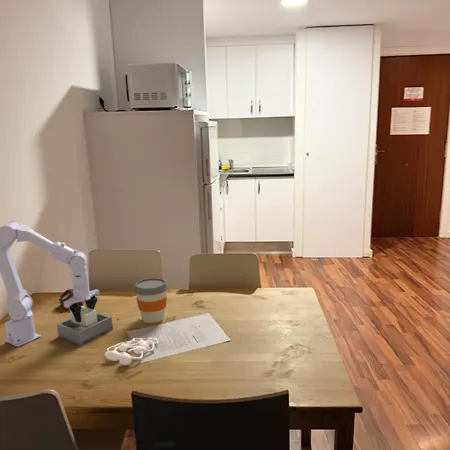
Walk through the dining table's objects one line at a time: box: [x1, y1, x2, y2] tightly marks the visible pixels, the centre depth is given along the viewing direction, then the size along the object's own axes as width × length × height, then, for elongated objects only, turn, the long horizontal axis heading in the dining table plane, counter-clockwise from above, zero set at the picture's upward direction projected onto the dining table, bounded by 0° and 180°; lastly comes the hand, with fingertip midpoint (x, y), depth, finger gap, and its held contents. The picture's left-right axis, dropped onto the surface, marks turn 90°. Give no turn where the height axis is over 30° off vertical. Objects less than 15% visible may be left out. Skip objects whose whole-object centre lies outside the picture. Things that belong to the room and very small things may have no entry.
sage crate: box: [69, 305, 98, 328], centre depth 168 cm, size 5×9×5 cm, turn 55°
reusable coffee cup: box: [134, 277, 168, 324], centre depth 178 cm, size 13×13×15 cm
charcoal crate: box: [56, 311, 114, 346], centre depth 168 cm, size 15×13×5 cm
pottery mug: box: [58, 288, 85, 306], centre depth 197 cm, size 12×10×8 cm
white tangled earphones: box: [104, 337, 159, 366], centre depth 153 cm, size 19×14×4 cm
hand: (84, 318), depth 168 cm, fingers closed on sage crate, 5 cm apart
